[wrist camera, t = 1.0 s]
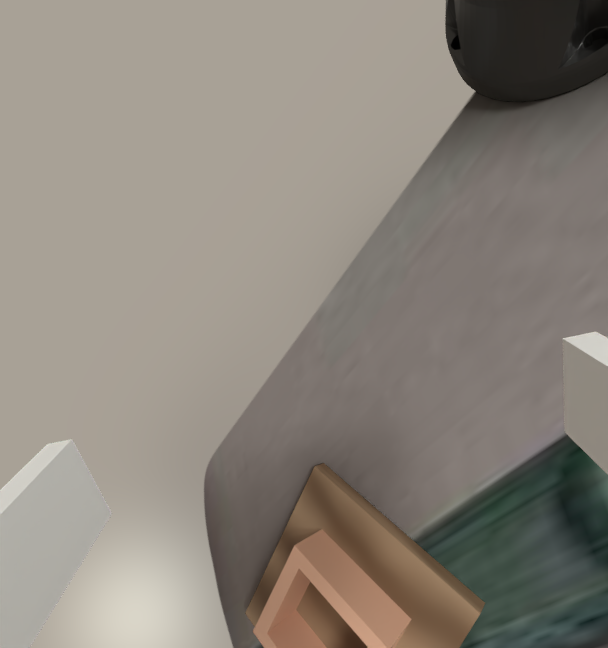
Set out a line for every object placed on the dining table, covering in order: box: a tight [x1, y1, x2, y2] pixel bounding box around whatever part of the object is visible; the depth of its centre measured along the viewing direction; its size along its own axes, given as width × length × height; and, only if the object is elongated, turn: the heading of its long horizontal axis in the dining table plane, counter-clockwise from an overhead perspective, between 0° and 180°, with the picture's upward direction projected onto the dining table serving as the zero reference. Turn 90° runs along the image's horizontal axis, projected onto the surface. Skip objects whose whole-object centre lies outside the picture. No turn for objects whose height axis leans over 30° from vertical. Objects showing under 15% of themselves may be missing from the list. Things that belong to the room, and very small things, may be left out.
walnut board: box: [245, 463, 485, 648], centre depth 33 cm, size 18×16×2 cm
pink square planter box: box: [253, 529, 412, 648], centre depth 31 cm, size 10×9×4 cm
